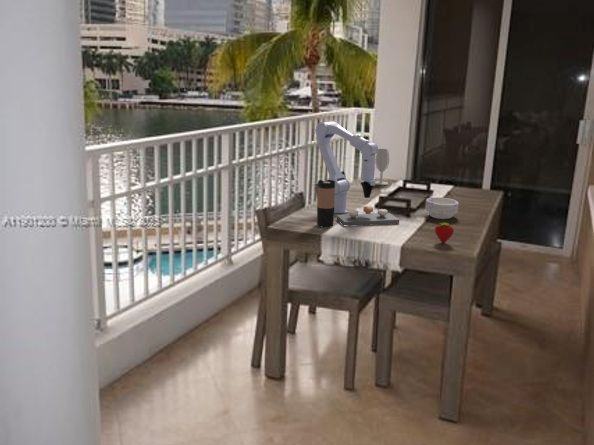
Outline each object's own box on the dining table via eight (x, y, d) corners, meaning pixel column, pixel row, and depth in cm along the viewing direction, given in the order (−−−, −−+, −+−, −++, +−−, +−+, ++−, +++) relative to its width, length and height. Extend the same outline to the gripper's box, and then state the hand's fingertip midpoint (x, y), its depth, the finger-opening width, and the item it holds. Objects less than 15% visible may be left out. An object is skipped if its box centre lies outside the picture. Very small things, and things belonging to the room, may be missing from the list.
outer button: (379, 217, 266) (379, 211, 265) (376, 215, 270) (376, 209, 269) (388, 217, 267) (388, 211, 266) (385, 214, 271) (385, 209, 270)
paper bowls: (462, 220, 273) (464, 204, 270) (431, 221, 270) (433, 204, 268) (449, 212, 287) (450, 196, 285) (420, 213, 285) (421, 197, 282)
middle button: (365, 214, 264) (365, 209, 263) (361, 212, 268) (362, 206, 267) (374, 214, 265) (374, 208, 264) (370, 211, 269) (371, 206, 268)
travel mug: (328, 228, 255) (330, 183, 250) (313, 225, 259) (314, 181, 254) (336, 224, 262) (338, 181, 256) (322, 222, 265) (323, 179, 260)
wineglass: (373, 185, 346) (375, 150, 340) (373, 182, 354) (375, 148, 349) (388, 186, 345) (390, 150, 339) (388, 183, 353) (390, 148, 347)
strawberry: (450, 246, 234) (452, 222, 231) (431, 243, 237) (433, 219, 235) (454, 242, 239) (456, 219, 236) (436, 239, 242) (438, 216, 240)
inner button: (350, 218, 263) (350, 213, 262) (347, 216, 267) (347, 210, 266) (359, 218, 264) (359, 212, 263) (356, 215, 268) (356, 210, 267)
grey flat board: (344, 226, 259) (344, 222, 259) (336, 219, 270) (336, 215, 270) (399, 223, 265) (399, 219, 264) (389, 217, 276) (389, 212, 276)
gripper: (382, 171, 263) (380, 200, 267) (371, 166, 277) (369, 193, 281) (367, 172, 262) (365, 201, 266) (357, 166, 276) (355, 194, 279)
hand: (366, 197), depth 273 cm, fingers closed
